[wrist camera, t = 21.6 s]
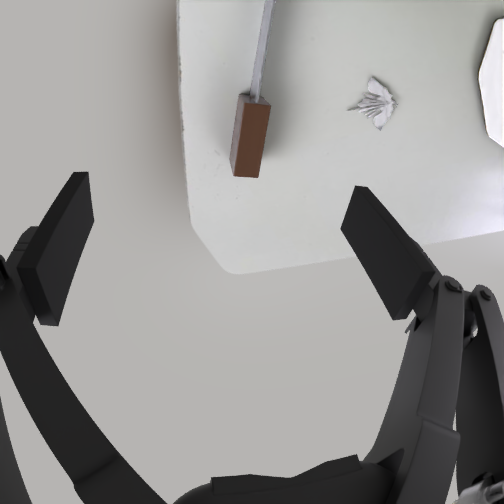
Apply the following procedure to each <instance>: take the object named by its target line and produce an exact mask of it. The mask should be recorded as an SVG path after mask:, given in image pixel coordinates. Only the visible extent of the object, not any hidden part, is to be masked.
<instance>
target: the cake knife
mask: <svg viewBox="0 0 504 504" xmlns="http://www.w3.org/2000/svg"><path fill="white" fill-rule="evenodd" d="M275 4H276V0H266V2H265V8H264V13H263V19H262V25H261V30H260V36H259V42H258V48H257V54H256V60H255V66H254V72H253V78H252V84H251V90H250V95H241V94H239V96H238V103H237V110H236V117H235V124H234V131H233V138H232V146H231V153H230V164H231V168H232V172H233V176H237V177H252V178H258V176H259V171H260V165H261V159H262V154H263V148H264V143H265V137H266V131H267V126H268V120H269V115H270V109H271V105H270V104H269V103H268V102H267V101H266V100H265V99H264V98H263V97H259V95H260V89H261V83H262V77H263V71H264V66H265V60H266V54H267V48H268V43H269V37H270V31H271V26H272V20H273V15H274V9H275Z"/></svg>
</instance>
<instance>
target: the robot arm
mask: <svg viewBox="0 0 504 504" xmlns="http://www.w3.org/2000/svg"><path fill="white" fill-rule="evenodd" d="M93 223H94V216H93V209H92V201H91V192H90V183H89V173H88V172H73V174H72V175H71V177H70V178H69V180H68V181H67V183H66V184H65V185H64V187H63V188H62V190H61V191H60V193H59V194H58V196H57V197H56V199H55V201H54V202H53V204H52V205H51V207H50V208H49V210H48V212H47V213H46V215H45V216H44V218H43V220H42V221H41V223H40V225H39V226H36V227H35V226H31V227H30V228H28V229H27V230H26V231H25V232H24V233H23V234H22V235H21V237H20V238H19V240H18V242H17V244H16V245H15V247H14V249H13V251H12V252H11V254H10V256H9V257H8V259H7V261H6V262H5V259H4V258H3V256H2V255H0V351H1V354H2V356H3V359H4V361H5V363H6V366H7V368H8V370H9V372H10V375H11V377H12V379H13V381H14V384H15V386H16V388H17V390H18V392H19V394H20V396H21V398H22V400H23V402H24V404H25V406H26V408H27V409H28V411H29V413H30V415H31V417H32V419H33V421H34V422H35V424H36V426H37V428H38V429H39V431H40V433H41V434H42V436H43V438H44V439H45V441H46V443H47V444H48V446H49V447H50V449H51V451H52V452H53V454H54V455H55V457H56V458H57V460H58V461H59V463H60V464H61V466H62V467H63V469H64V470H65V471H66V473H67V474H68V476H69V477H70V479H71V480H72V482H73V484H74V489H75V491H76V492H77V494H78V496H79V497H80V499H81V500H82V501H83V503H84V504H167V503H166V502H165V501H164V500H163V499H162V498H161V497H160V496H159V495H157V493H156V492H155V491H154V490H153V489H152V488H151V487H150V486H149V485H148V484H147V483H146V482H145V481H144V480H143V479H142V478H141V477H140V476H139V475H138V474H137V473H136V472H135V470H134V469H133V468H132V467H131V466H130V465H129V464H128V463H127V461H126V460H125V459H124V458H123V457H122V456H121V455H120V453H119V452H118V451H117V450H116V449H115V448H114V446H113V445H112V444H111V443H110V442H109V440H108V439H107V438H106V436H105V435H104V434H103V433H102V431H101V430H100V429H99V427H98V426H97V425H96V424H95V422H94V421H93V420H92V418H91V417H90V415H89V414H88V413H87V411H86V410H85V409H84V407H83V406H82V404H81V403H80V401H79V400H78V399H77V397H76V396H75V394H74V393H73V391H72V390H71V388H70V387H69V385H68V383H67V382H66V380H65V379H64V377H63V376H62V374H61V372H60V371H59V369H58V367H57V366H56V364H55V362H54V361H53V359H52V357H51V356H50V354H49V352H48V350H47V349H46V347H45V345H44V343H43V341H42V340H41V338H40V336H39V334H38V332H37V330H36V328H35V326H34V324H33V321H34V318H35V315H36V316H37V318H38V320H39V323H40V325H48V326H58V325H59V322H60V318H61V315H62V311H63V308H64V305H65V301H66V298H67V295H68V292H69V289H70V286H71V282H72V279H73V277H74V273H75V271H76V268H77V265H78V262H79V259H80V257H81V254H82V251H83V249H84V246H85V243H86V241H87V238H88V236H89V233H90V231H91V228H92V226H93ZM341 231H342V232H343V234H344V236H345V237H346V239H347V241H348V242H349V244H350V245H351V247H352V249H353V250H354V252H355V254H356V256H357V257H358V259H359V261H360V262H361V264H362V266H363V267H364V269H365V271H366V273H367V274H368V276H369V278H370V279H371V281H372V283H373V285H374V286H375V288H376V290H377V292H378V294H379V296H380V297H381V299H382V301H383V303H384V305H385V307H386V308H387V310H388V312H389V314H390V316H391V318H392V320H400V319H406V318H407V317H408V315H409V314H410V312H411V311H412V309H413V310H414V312H415V313H416V316H415V317H414V319H413V320H412V322H411V324H410V325H409V326H408V327H407V329H406V331H405V333H407V332H408V331H409V330H410V333H409V338H408V342H407V345H406V349H405V353H404V357H403V360H402V364H401V367H400V371H399V374H398V378H397V381H396V384H395V387H394V391H393V394H392V397H391V400H390V403H389V406H388V409H387V412H386V414H385V417H384V420H383V423H382V425H381V428H380V431H379V433H378V436H377V439H376V441H375V444H374V446H373V448H372V449H371V451H370V452H369V453H368V455H367V456H366V457H365V458H364V460H363V461H359V459H358V456H357V454H356V455H352V456H348V457H344V458H340V459H336V460H332V461H327V462H324V463H322V464H320V465H319V466H316V467H314V468H312V469H310V470H308V471H306V472H304V473H302V474H299V475H297V476H295V477H291V478H284V477H272V476H261V475H252V474H248V475H238V476H225V477H211V481H210V483H208V484H205V485H202V486H199V487H197V488H195V489H192V490H191V491H189V492H187V493H185V494H184V495H183V496H181V497H180V498H178V500H176V501H175V502H174V503H173V504H445V501H446V498H447V495H448V491H449V487H450V484H451V480H452V476H453V472H454V468H455V464H456V472H457V473H456V477H457V490H458V496H459V499H458V500H456V501H454V502H453V503H452V504H504V322H503V318H502V315H501V312H500V309H499V306H498V303H497V300H496V298H495V296H494V294H493V293H492V292H491V290H490V289H488V288H487V287H485V286H483V285H476V287H475V288H474V290H473V291H472V292H468V291H464V290H463V288H462V286H461V284H460V283H459V282H458V281H457V280H455V279H454V278H452V277H450V276H442V275H441V273H440V272H439V270H438V269H437V268H436V266H435V265H434V264H433V263H432V261H431V260H430V258H428V256H427V254H426V253H425V252H423V249H422V248H421V247H420V245H419V244H418V243H417V242H416V241H414V240H413V239H412V238H411V237H409V236H408V234H407V233H406V232H405V231H404V229H403V228H402V227H401V226H400V225H399V223H398V222H397V221H396V220H395V218H394V217H393V216H392V215H391V214H390V213H389V211H388V210H387V209H386V208H385V207H384V205H383V204H382V203H381V202H380V201H379V200H378V199H377V197H376V196H375V195H374V194H373V193H372V192H371V191H370V189H369V188H368V187H363V186H355V188H354V191H353V194H352V197H351V200H350V203H349V206H348V209H347V211H346V214H345V217H344V220H343V223H342V226H341ZM477 327H478V331H477V335H476V336H475V337H474V336H473V332H474V331H475V330H476V328H477ZM455 410H456V431H454V430H453V421H454V416H455ZM456 461H457V462H456ZM0 504H32V502H31V500H30V498H29V495H28V493H27V490H26V487H25V485H24V482H23V479H22V476H21V473H20V470H19V467H18V464H17V461H16V458H15V455H14V452H13V449H12V445H11V441H10V437H9V433H8V430H7V425H6V421H5V417H4V413H3V408H2V403H1V398H0Z"/></svg>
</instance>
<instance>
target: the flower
mask: <svg viewBox="0 0 504 504" xmlns="http://www.w3.org/2000/svg"><path fill="white" fill-rule="evenodd" d="M385 87H386V86H385ZM368 89H369V91H370V92H371V93H374V94H377V95H379V96H381V97H378V96H375V97H374V96H372V95H370V94H368V93H363V94H364V95H365V96H366V97H368V98H373V99H374V100H371V99H367V98H364V99H362V101H363V102H360V103H359V104H357V105H358V106H359V108H363V109H361V110H360V111H359V112H365V111H367V110H370V109H373V108H377V107H379V108H377V109H375V110H377V111H378V110H380V111H382V112H381V113H380V114H378V115H377V116H375V117H374V123H373V124H374V125H375V127H376V128H377V129H379V130H381V129H382V127H383V126H384V124H385V123H386V121H387V120H388V119H389V118H391V112H392V111H393V110H394V109H393V108H392V105H393V104H395V105H396V106H397V105H398V104H397V103H396V102H395V100H393V99H392V100H391V96H392V97H393V95H391V94H389V93H388V91H387V88H384V87H383V86H382V85H381V84H379V83H378V82H377V81H376V80H375V79H374V78H373V77H372V78H371V80H370V81H369V82H368ZM370 102H373V103H370ZM376 102H379V103H376ZM373 106H374V107H373ZM366 107H370V108H366ZM355 109H358V108H354V109H349V110H355ZM375 110H373V111H375ZM383 110H384V111H383ZM373 111H370V112H368V113H366V114H365V115H368V114H370V113H372V112H373ZM377 111H376V112H377ZM376 112H374V113H372V114H371V115H369V116H368V118H369V117H371V116H373V115H374V114H375V113H376Z"/></svg>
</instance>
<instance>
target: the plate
mask: <svg viewBox="0 0 504 504" xmlns="http://www.w3.org/2000/svg"><path fill="white" fill-rule="evenodd" d="M478 83H479V88H480V93H481V99H482V105H483V112H484V119H485V127H486V132H487V134H488V136H489V137H490V138H492V139H493V140H494V141H496V142H497V143H498V144H500V145H501V146H502V147H503V148H504V18H501V19H497V20H496V21H495V22H494V24H493V27H492V31H491V34H490V37H489V41H488V44H487V47H486V50H485V53H484V56H483V59H482V62H481V65H480V68H479V71H478Z"/></svg>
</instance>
